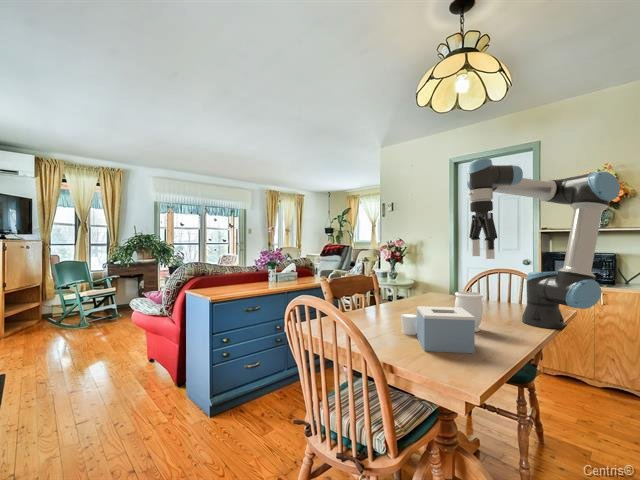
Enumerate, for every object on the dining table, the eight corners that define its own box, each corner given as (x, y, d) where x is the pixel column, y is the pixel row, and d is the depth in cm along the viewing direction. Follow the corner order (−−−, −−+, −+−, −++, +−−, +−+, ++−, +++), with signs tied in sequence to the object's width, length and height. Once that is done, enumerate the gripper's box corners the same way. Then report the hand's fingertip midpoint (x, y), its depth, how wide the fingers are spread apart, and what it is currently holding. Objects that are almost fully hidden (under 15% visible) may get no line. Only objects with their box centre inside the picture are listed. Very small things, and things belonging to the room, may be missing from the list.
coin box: (461, 339, 116) (461, 307, 116) (474, 353, 102) (474, 317, 102) (417, 337, 118) (417, 306, 118) (424, 350, 104) (424, 315, 104)
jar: (476, 326, 134) (477, 291, 133) (487, 333, 123) (487, 295, 123) (451, 325, 135) (451, 290, 134) (459, 332, 124) (459, 295, 124)
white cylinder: (419, 335, 120) (419, 317, 120) (401, 334, 122) (401, 317, 122) (417, 330, 127) (417, 313, 127) (400, 329, 129) (400, 312, 128)
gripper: (460, 204, 130) (461, 255, 130) (483, 197, 105) (485, 260, 105) (479, 204, 129) (480, 255, 129) (507, 196, 104) (508, 259, 104)
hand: (482, 257), depth 117 cm, fingers open, 13 cm apart
